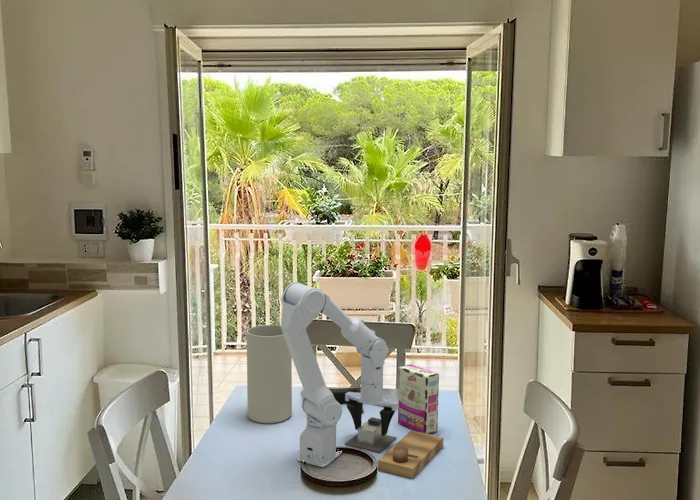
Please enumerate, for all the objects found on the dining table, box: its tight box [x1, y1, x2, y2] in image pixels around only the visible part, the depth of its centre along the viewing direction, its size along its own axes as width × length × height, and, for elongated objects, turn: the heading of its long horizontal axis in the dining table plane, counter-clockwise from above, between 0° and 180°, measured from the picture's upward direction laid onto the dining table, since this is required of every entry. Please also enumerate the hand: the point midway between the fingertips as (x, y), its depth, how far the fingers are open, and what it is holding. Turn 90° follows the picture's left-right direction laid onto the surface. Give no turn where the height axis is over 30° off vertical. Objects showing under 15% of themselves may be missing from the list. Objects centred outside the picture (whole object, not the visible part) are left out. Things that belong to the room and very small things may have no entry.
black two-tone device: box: [328, 386, 365, 414], centre depth 203 cm, size 3×20×16 cm
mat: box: [344, 433, 397, 454], centre depth 177 cm, size 10×10×1 cm
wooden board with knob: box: [377, 429, 444, 480], centre depth 167 cm, size 20×9×5 cm, turn 152°
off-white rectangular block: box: [357, 416, 385, 446], centre depth 177 cm, size 7×4×5 cm, turn 151°
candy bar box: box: [397, 364, 440, 435], centre depth 185 cm, size 11×5×16 cm, turn 39°
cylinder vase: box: [246, 324, 293, 424], centre depth 192 cm, size 12×12×25 cm
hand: (371, 431), depth 177 cm, fingers open, 7 cm apart
